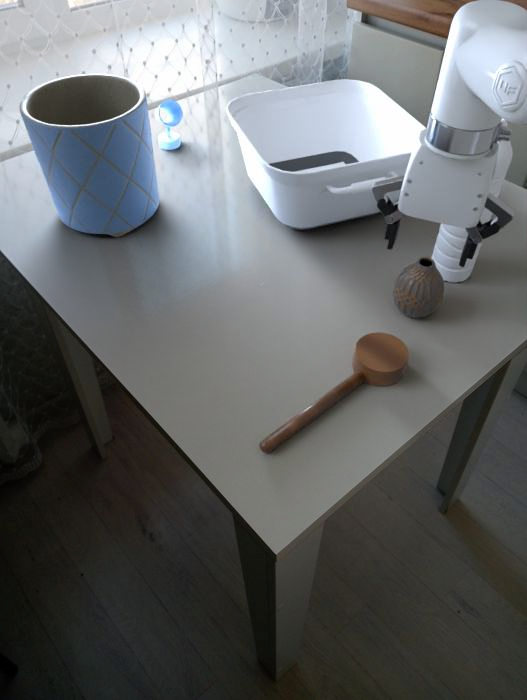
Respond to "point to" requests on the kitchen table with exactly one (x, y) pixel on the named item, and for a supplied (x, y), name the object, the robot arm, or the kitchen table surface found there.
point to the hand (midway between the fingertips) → (426, 252)
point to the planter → (94, 151)
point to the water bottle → (455, 237)
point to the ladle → (352, 380)
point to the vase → (419, 288)
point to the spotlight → (169, 124)
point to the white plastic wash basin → (323, 148)
